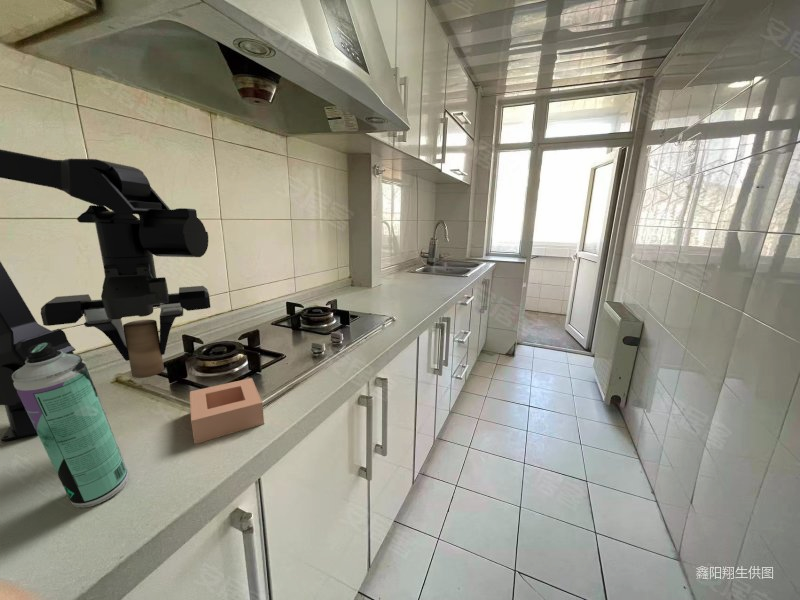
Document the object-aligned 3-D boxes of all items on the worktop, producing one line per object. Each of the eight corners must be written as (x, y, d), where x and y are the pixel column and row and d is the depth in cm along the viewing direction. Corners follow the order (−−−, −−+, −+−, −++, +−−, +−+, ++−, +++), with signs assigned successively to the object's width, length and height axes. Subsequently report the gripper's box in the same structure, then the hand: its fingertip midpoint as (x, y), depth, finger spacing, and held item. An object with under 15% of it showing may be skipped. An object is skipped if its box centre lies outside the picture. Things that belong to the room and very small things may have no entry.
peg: (133, 370, 52) (124, 321, 50) (164, 364, 54) (157, 318, 52) (130, 380, 48) (120, 329, 47) (163, 374, 51) (155, 325, 49)
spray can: (125, 462, 45) (73, 329, 38) (132, 486, 41) (77, 345, 34) (69, 488, 41) (1, 346, 34) (72, 517, 37) (-3, 365, 30)
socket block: (192, 411, 58) (189, 391, 57) (253, 396, 63) (251, 377, 62) (194, 444, 50) (191, 420, 49) (264, 423, 55) (262, 402, 54)
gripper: (7, 266, 35) (42, 396, 39) (206, 259, 45) (218, 363, 49) (43, 256, 44) (68, 362, 48) (202, 252, 54) (213, 340, 58)
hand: (145, 356), depth 51 cm, fingers closed on peg, 4 cm apart
